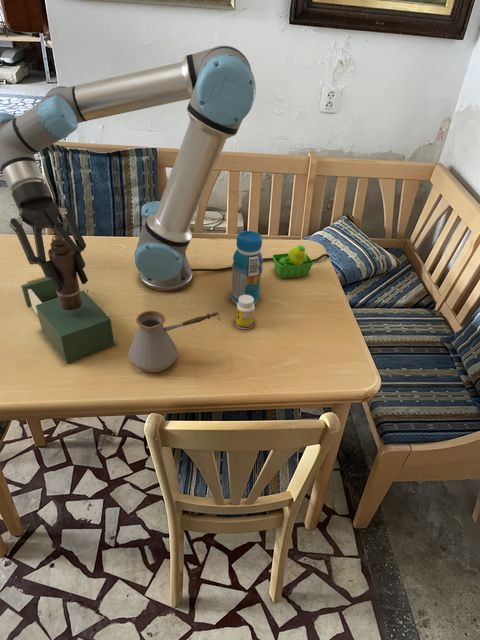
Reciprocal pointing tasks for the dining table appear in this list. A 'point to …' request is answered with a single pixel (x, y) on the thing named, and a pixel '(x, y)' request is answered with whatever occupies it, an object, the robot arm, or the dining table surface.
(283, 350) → the dining table surface
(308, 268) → the fruit basket
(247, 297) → the supplement bottle
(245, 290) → the beverage bottle
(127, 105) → the robot arm
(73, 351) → the cabinet
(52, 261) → the pepper mill
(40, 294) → the drawer
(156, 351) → the coffee pot
